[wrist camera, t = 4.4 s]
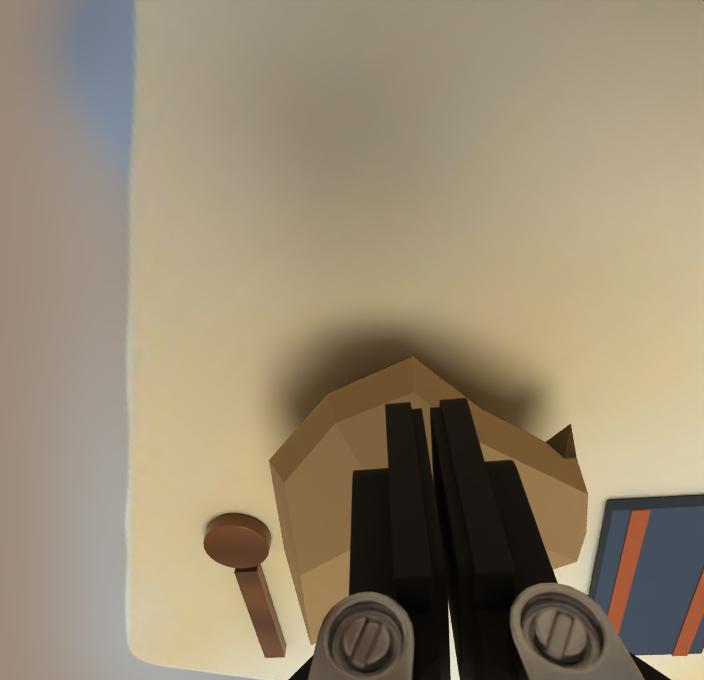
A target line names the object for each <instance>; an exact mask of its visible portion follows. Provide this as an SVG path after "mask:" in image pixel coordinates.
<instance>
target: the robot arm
mask: <svg viewBox="0 0 704 680" xmlns="http://www.w3.org/2000/svg"><path fill="white" fill-rule="evenodd" d="M385 415H386V434H387V452H388V468H381V469H367V470H353V476H352V505H351V539H350V574H349V596H347V597H345V598H343V599H342V600H340V601H339V602H338V603H336V604H335V605H334V606H333V607H332V608H331V609H330V611H329V612H328V613H327V614H326V616H325V617H324V619H323V622H322V625H321V627H320V630H319V633H318V637H317V642H316V646H315V651H314V655H313V656H312V657H311V658H310V659H309V660H308V661H307V662H306V663H305V664H304V665H303V666H302V667H301V668H300V669H299V670H298V671H297V672H296V673H295V674H294V675H293V676H292V677H291V678H290V679H289V680H451V677H450V647H449V617H448V603H449V610H450V616H451V623H452V630H453V637H454V644H455V650H456V657H457V664H458V671H459V677H460V680H671V679H669V678H668V677H666V676H665V675H663V674H662V673H660V672H659V671H657V670H656V669H654V668H653V667H651V666H650V665H648V664H647V663H645V662H644V661H642V660H641V659H639V658H638V657H636V656H635V655H633V654H632V653H630V652H629V651H628V650H627V648H626V647H625V645H624V643H623V641H622V640H621V638H620V636H619V635H618V633H617V631H616V629H615V628H614V626H613V624H612V623H611V621H610V619H609V618H608V616H607V615H606V614H605V612H604V611H603V610H602V609H601V607H600V606H599V605H598V604H597V603H596V602H595V601H593V600H592V599H591V598H590V597H588V596H587V595H586V594H585V593H583V592H581V591H579V590H577V589H574V588H572V587H570V586H567V585H562V584H558V583H557V580H556V578H555V575H554V572H553V569H552V566H551V563H550V560H549V558H548V555H547V552H546V549H545V546H544V543H543V541H542V538H541V535H540V532H539V529H538V526H537V524H536V521H535V518H534V515H533V512H532V509H531V506H530V504H529V501H528V498H527V495H526V492H525V489H524V487H523V484H522V481H521V478H520V475H519V472H518V470H517V467H516V465H515V463H514V461H513V460H500V461H484V457H483V453H482V450H481V446H480V443H479V439H478V436H477V432H476V429H475V425H474V422H473V418H472V414H471V411H470V407H469V404H468V401H467V398H456V399H443V400H439V407H430V425H431V446H432V467H433V478H432V471H431V465H430V458H429V451H428V445H427V438H426V432H425V425H424V419H423V412H422V408H417V409H412V407H411V402H404V403H391V404H385Z"/></svg>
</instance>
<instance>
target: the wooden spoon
mask: <svg viewBox="0 0 704 680" xmlns="http://www.w3.org/2000/svg"><path fill="white" fill-rule="evenodd" d="M270 544H271V535H270V532H269V530H268V528H267V527H266V526H265V525H264V524H263V523H261V522H260V521H258V520H257V519H255V518H252V517H250V516H246V515H241V514H228V515H223V516H220V517H218V518H216V519H215V520H213V521H212V522H211V523H210V525H209V526H208V529H207V532H206V535H205V538H204V548H205V551H206V553H207V554H208V555H209V556H210V557H211V558H212V559H213V560H215V561H216V562H218V563H220V564H222V565H225V566H228V567H232V568H235V572H234V573H235V576H236V579H237V581H238V584H239V587H240V590H241V592H242V595H243V598H244V601H245V603H246V606H247V609H248V612H249V614H250V617H251V620H252V623H253V626H254V628H255V631H256V634H257V637H258V639H259V642H260V645H261V648H262V650H263V653H264V656H265V658H276V657H285V652H286V645H285V642H284V638H283V635H282V632H281V629H280V626H279V623H278V620H277V616H276V613H275V610H274V607H273V604H272V601H271V598H270V594H269V591H268V588H267V585H266V582H265V579H264V576H263V572H262V569H261V566H260V563H262V562H263V561H264V560H265V559H266V558H267V556H268V554H269V549H270Z"/></svg>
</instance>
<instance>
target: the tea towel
mask: <svg viewBox="0 0 704 680" xmlns="http://www.w3.org/2000/svg"><path fill="white" fill-rule="evenodd" d="M589 597H590V598H591V599H592V600H593V601H595V602H596V603H597V604H598V605H599V606H600V607H601V609H602V610H603V611H604V612H605V614H606V615H607V616H608V618H609V619H610V621H611V623H612V624H613V626H614V628H615V629H616V631H617V633H618V635H619V636H620V638H621V640H622V641H623V643H624V645H625V647H626V648H627V650H628V651H629V652H630V653H632V654H633V655H664V654H672V656H687V655H688V654H701V653H702V651H703V648H704V495H698V496H679V497H660V498H641V499H621V500H608V501H607V506H606V511H605V516H604V521H603V526H602V532H601V537H600V542H599V547H598V552H597V557H596V562H595V567H594V572H593V578H592V583H591V588H590V593H589Z"/></svg>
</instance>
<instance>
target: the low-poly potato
mask: <svg viewBox="0 0 704 680" xmlns="http://www.w3.org/2000/svg"><path fill="white" fill-rule="evenodd" d="M456 398H466V397H465V396H464V395H462V394H461V393H460V392H459V391H457V390H456V389H455V388H453V387H452V386H451V385H449V384H448V383H447V382H446V381H444V380H443V379H442V378H440V377H439V376H438V375H436V374H435V373H434V372H432V371H431V370H430V369H429V368H427V367H426V366H425V365H423V364H422V363H421V362H419V361H418V360H417V359H416V358H414V357H413V356H412V357H410V358H408V359H405V360H403V361H401V362H399V363H396V364H394V365H392V366H389V367H387V368H385V369H383V370H380V371H378V372H376V373H374V374H371V375H369V376H367V377H364V378H362V379H360V380H358V381H355V382H353V383H351V384H349V385H346V386H344V387H342V388H339V389H337V390H335V391H333V392H330V393H328V394H327V395H326V396H325V397H324V398H323V400H322V401H321V402H320V403H319V404H318V405H317V406H316V407H315V409H314V410H313V411H312V412H311V413H310V414H309V415H308V417H307V418H306V419H305V420H304V421H303V422H302V423H301V425H300V426H299V427H298V428H297V429H296V430H295V431H294V433H293V434H292V435H291V436H290V437H289V438H288V439H287V441H286V442H285V443H284V444H283V445H282V446H281V447H280V448H279V450H278V451H277V452H276V453H275V454H274V455H273V456H272V458H271V459H270V460H269V463H270V469H271V475H272V481H273V486H274V492H275V498H276V504H277V509H278V515H279V521H280V527H281V533H282V538H283V544H284V550H285V553H286V557H287V561H288V564H289V568H290V572H291V575H292V579H293V582H294V586H295V590H296V593H297V597H298V600H299V604H300V608H301V611H302V615H303V618H304V622H305V626H306V629H307V633H308V637H309V640H310V644H311V645H313V644H315V643H316V642H317V637H318V633H319V630H320V627H321V625H322V622H323V619H324V617H325V616H326V614H327V613H328V612H329V611H330V609H331V608H332V607H333V606H334V605H335V604H336V603H338V602H339V601H340V600H342V599H343V598H345V597H347V596H349V574H350V539H351V505H352V476H353V470H367V469H381V468H388V452H387V434H386V415H385V404H391V403H404V402H411V407H412V409H417V408H422V412H423V419H424V425H425V432H426V438H427V445H428V451H429V458H430V465H431V471H432V478H433V467H432V446H431V425H430V407H439V400H443V399H456ZM467 401H468V404H469V407H470V411H471V414H472V418H473V422H474V425H475V429H476V432H477V436H478V439H479V443H480V446H481V450H482V453H483V457H484V461H500V460H513V461H514V463H515V465H516V467H517V470H518V472H519V475H520V478H521V481H522V484H523V487H524V489H525V492H526V495H527V498H528V501H529V504H530V506H531V509H532V512H533V515H534V518H535V521H536V524H537V526H538V529H539V532H540V535H541V538H542V541H543V543H544V546H545V549H546V552H547V555H548V558H549V560H550V563H551V566H552V569H556V568H559V567H562V566H565V565H568V564H571V563H574V562H577V560H578V557H579V554H580V550H581V547H582V544H583V541H584V538H585V534H586V526H587V506H588V493H587V489H586V486H585V483H584V480H583V477H582V474H581V471H580V467H579V464H578V461H577V458H576V452H575V446H574V440H573V434H572V428H571V424H570V425H568V426H567V427H566V428H564V429H563V430H561V431H560V432H559V433H557V434H556V435H555V436H553V437H552V438H551V439H549V440H548V441H546V442H544V441H542V440H540V439H538V438H537V437H535V436H533V435H531V434H529V433H527V432H525V431H523V430H521V429H519V428H517V427H515V426H513V425H512V424H510V423H508V422H506V421H504V420H502V419H500V418H498V417H496V416H494V415H492V414H490V413H488V412H487V411H485V410H483V409H481V408H479V407H478V406H477V405H475V404H474V403H473V402H472V401H470V400H469V399H468V398H467Z"/></svg>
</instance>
